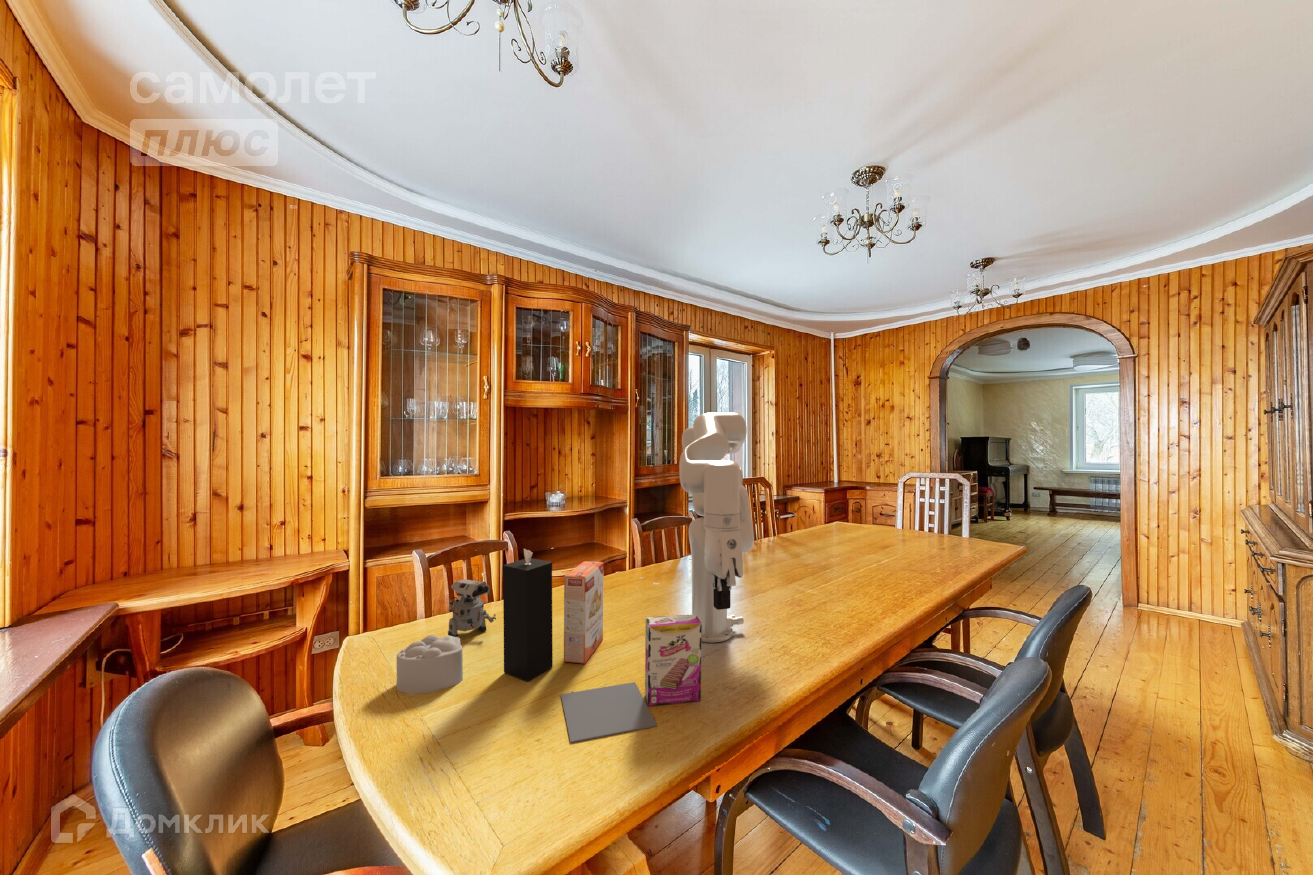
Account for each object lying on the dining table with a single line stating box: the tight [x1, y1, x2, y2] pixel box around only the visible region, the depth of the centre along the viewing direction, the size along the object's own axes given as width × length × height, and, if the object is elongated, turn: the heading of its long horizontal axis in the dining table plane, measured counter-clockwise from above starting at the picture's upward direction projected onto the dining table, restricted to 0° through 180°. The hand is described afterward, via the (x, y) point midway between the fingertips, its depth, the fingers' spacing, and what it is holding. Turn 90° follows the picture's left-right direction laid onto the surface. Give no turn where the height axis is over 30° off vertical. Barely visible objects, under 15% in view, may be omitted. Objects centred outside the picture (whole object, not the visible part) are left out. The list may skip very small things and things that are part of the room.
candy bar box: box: [644, 614, 702, 707], centre depth 99 cm, size 11×5×16 cm, turn 100°
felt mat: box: [560, 681, 658, 744], centre depth 95 cm, size 16×16×1 cm
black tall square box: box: [502, 548, 554, 682], centre depth 110 cm, size 8×8×28 cm
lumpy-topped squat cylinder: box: [396, 634, 464, 695], centre depth 106 cm, size 10×13×9 cm
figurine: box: [447, 578, 497, 638], centre depth 129 cm, size 9×12×15 cm
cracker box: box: [563, 560, 605, 665], centre depth 120 cm, size 14×6×21 cm, turn 168°
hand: (721, 607), depth 101 cm, fingers closed
